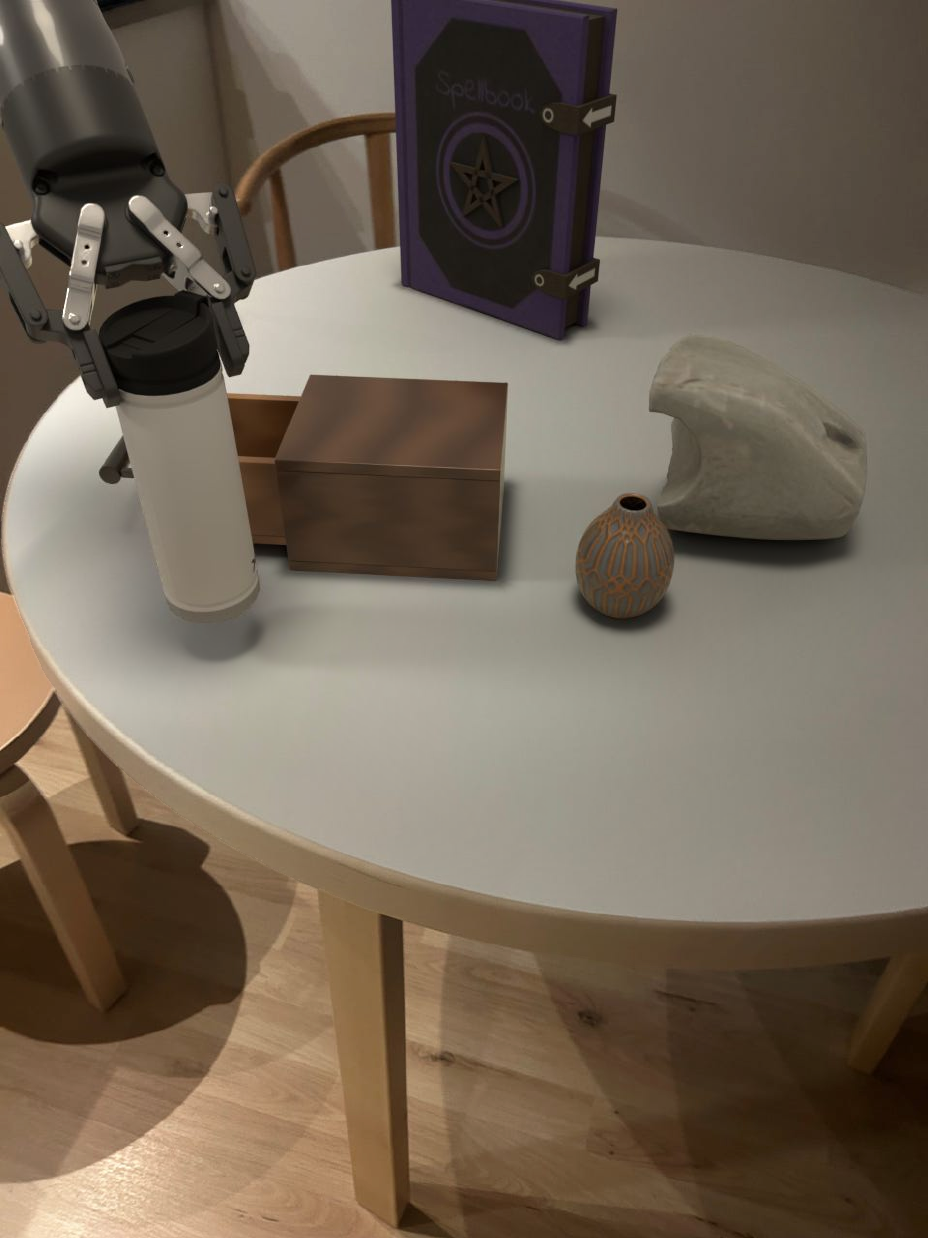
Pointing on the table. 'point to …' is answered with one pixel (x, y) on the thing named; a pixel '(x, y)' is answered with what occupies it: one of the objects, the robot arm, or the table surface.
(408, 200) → the book
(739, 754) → the table surface
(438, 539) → the cabinet
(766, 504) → the decorative stone
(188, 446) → the travel mug
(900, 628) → the table surface
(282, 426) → the drawer
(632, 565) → the vase
